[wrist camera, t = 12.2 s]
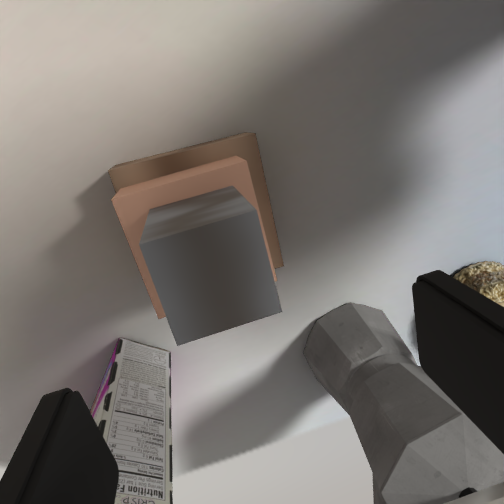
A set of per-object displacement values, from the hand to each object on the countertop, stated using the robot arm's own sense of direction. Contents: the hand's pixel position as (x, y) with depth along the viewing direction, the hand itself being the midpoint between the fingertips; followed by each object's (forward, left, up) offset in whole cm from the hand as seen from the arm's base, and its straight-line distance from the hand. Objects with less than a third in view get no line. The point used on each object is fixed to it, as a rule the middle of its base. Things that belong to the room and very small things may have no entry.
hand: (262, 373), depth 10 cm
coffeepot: (-10, +16, -22) cm, 29 cm away
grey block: (+1, 0, -14) cm, 14 cm away
